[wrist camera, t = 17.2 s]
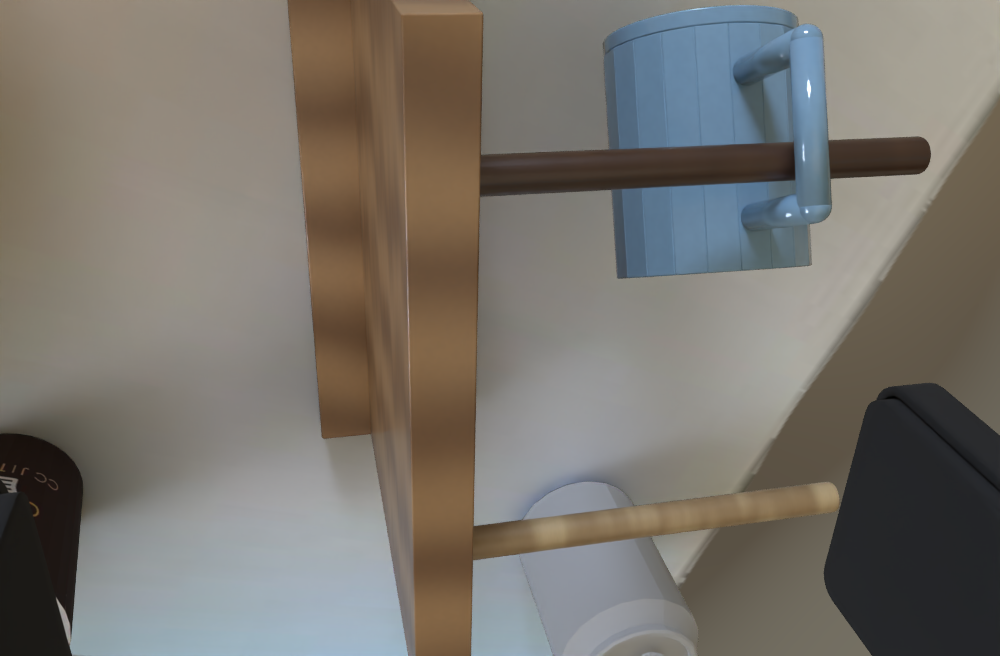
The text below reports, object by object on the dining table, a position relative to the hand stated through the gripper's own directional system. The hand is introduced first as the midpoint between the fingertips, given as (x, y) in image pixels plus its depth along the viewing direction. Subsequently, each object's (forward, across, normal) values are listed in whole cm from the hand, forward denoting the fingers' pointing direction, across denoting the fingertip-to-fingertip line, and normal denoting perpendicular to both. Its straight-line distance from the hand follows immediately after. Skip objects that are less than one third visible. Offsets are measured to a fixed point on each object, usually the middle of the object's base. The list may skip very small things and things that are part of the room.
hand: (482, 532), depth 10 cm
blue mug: (+24, -13, -1) cm, 27 cm away
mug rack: (+33, -8, +9) cm, 35 cm away
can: (+34, -13, +30) cm, 47 cm away
